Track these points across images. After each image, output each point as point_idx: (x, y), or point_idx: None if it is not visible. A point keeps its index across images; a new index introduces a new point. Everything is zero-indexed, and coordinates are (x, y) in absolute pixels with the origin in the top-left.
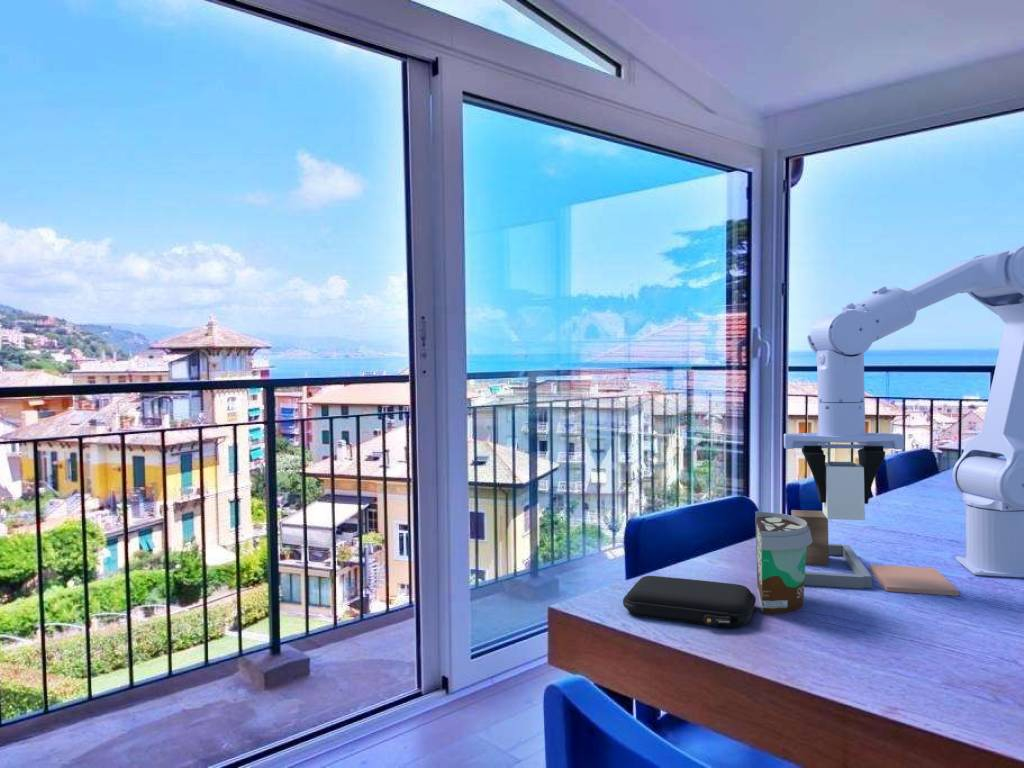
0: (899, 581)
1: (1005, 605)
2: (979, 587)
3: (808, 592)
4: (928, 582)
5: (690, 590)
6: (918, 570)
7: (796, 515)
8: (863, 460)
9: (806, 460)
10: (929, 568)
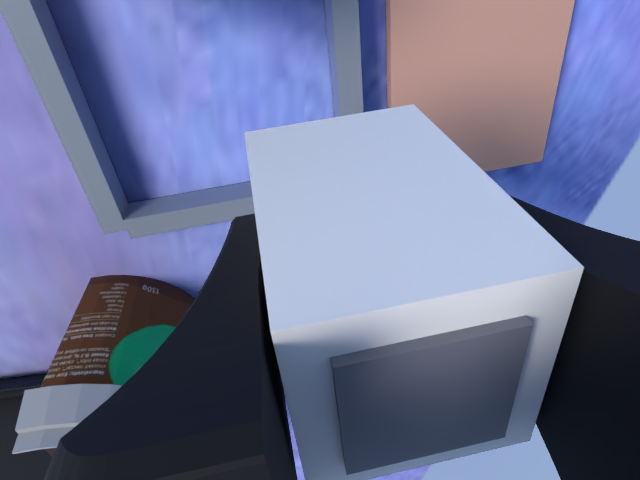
0: None
1: (594, 184)
2: (619, 63)
3: (212, 255)
4: (502, 115)
5: (12, 472)
6: None
7: None
8: (574, 442)
9: (120, 388)
10: None
